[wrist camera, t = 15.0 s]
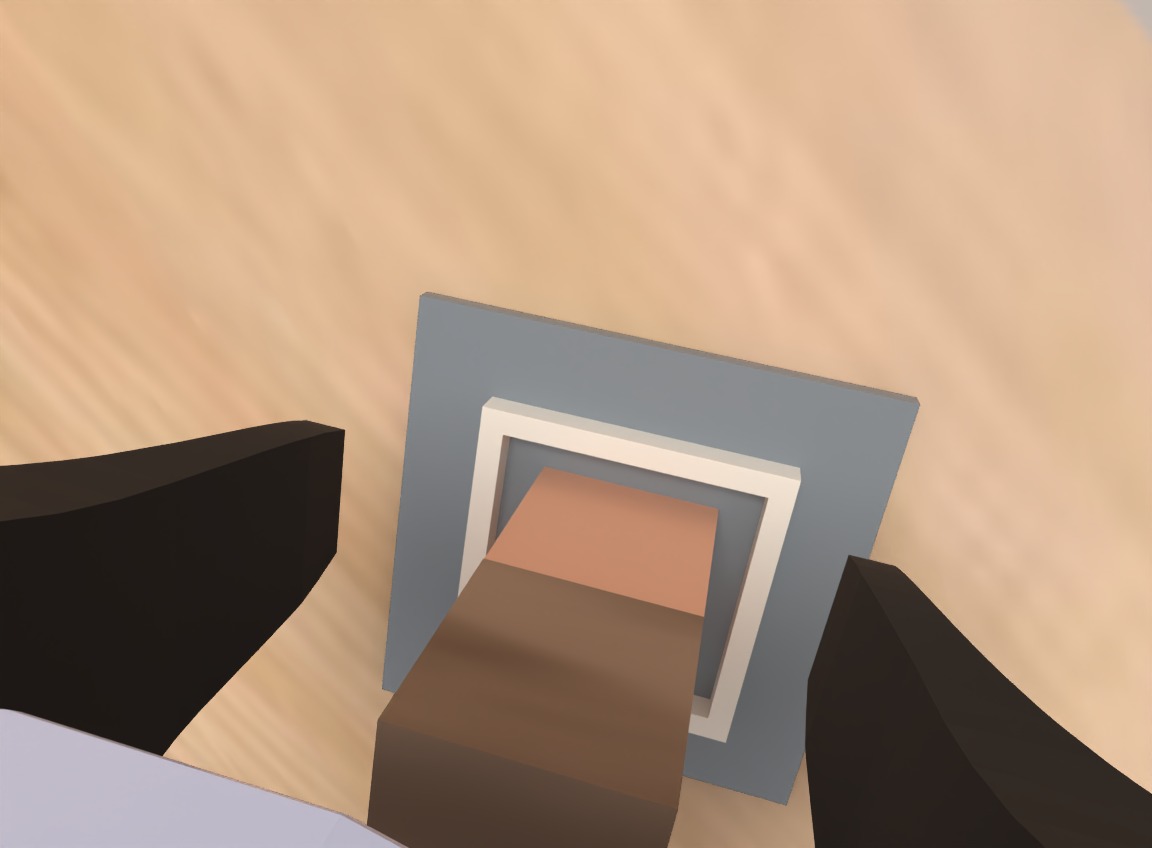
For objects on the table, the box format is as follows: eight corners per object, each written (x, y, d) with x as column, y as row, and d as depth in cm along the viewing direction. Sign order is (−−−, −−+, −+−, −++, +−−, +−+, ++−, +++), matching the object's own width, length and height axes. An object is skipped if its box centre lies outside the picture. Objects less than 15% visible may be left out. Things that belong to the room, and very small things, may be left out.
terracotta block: (681, 657, 23) (658, 794, 18) (519, 614, 23) (458, 735, 19) (718, 508, 21) (703, 618, 17) (544, 466, 22) (483, 560, 17)
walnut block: (657, 792, 18) (618, 1021, 14) (457, 733, 19) (355, 933, 14) (704, 616, 17) (678, 809, 12) (483, 558, 17) (377, 719, 13)
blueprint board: (786, 792, 24) (787, 827, 23) (389, 678, 26) (370, 705, 25) (916, 397, 20) (925, 415, 19) (427, 292, 21) (407, 302, 20)
